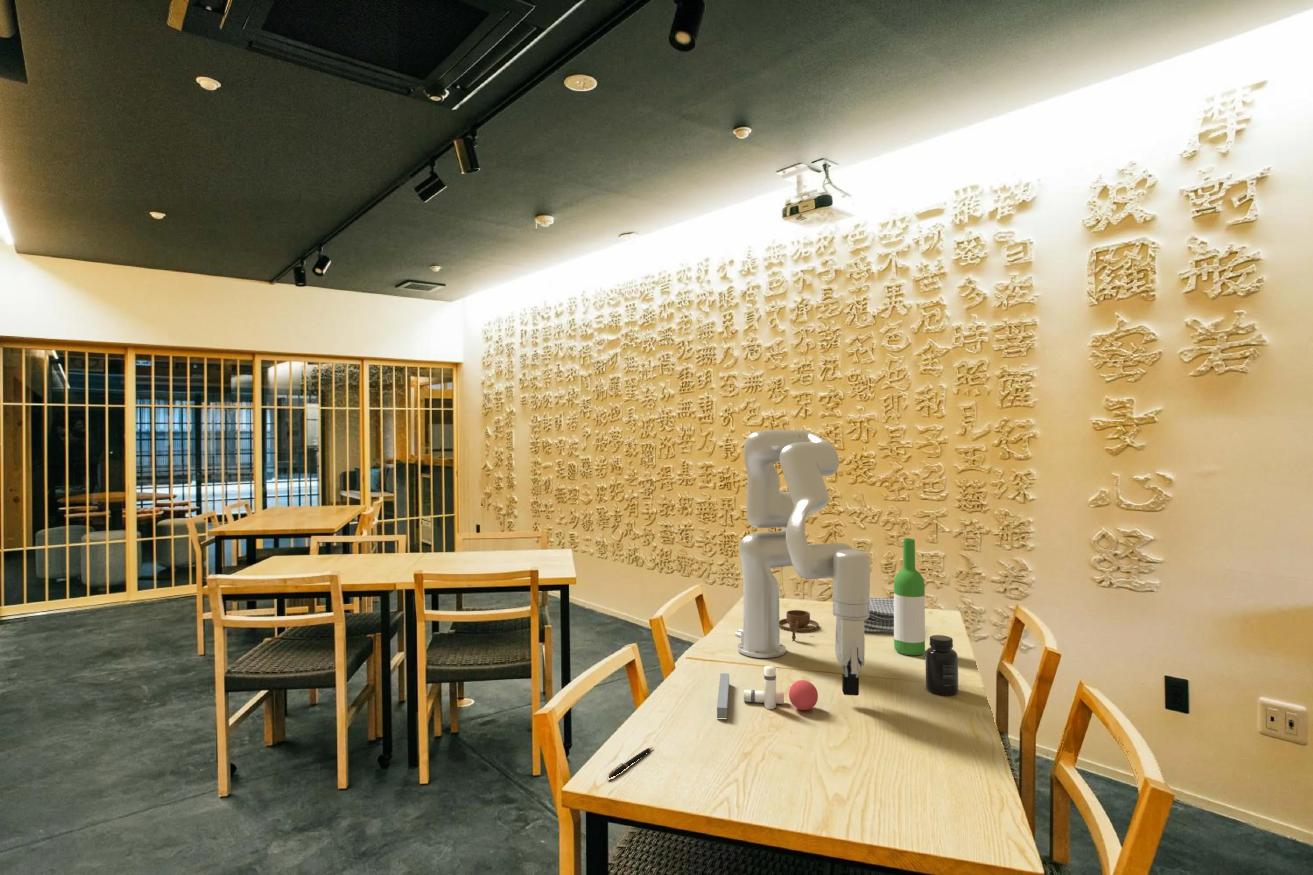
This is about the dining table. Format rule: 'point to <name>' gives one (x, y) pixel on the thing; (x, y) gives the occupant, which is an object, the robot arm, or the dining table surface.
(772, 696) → the pin
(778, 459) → the robot arm
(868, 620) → the towel
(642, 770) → the dining table surface
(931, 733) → the dining table surface
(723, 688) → the gray square bar
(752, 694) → the pin
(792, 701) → the ball
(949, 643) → the supplement bottle
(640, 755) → the fountain pen
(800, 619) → the place setting
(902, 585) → the wine bottle
